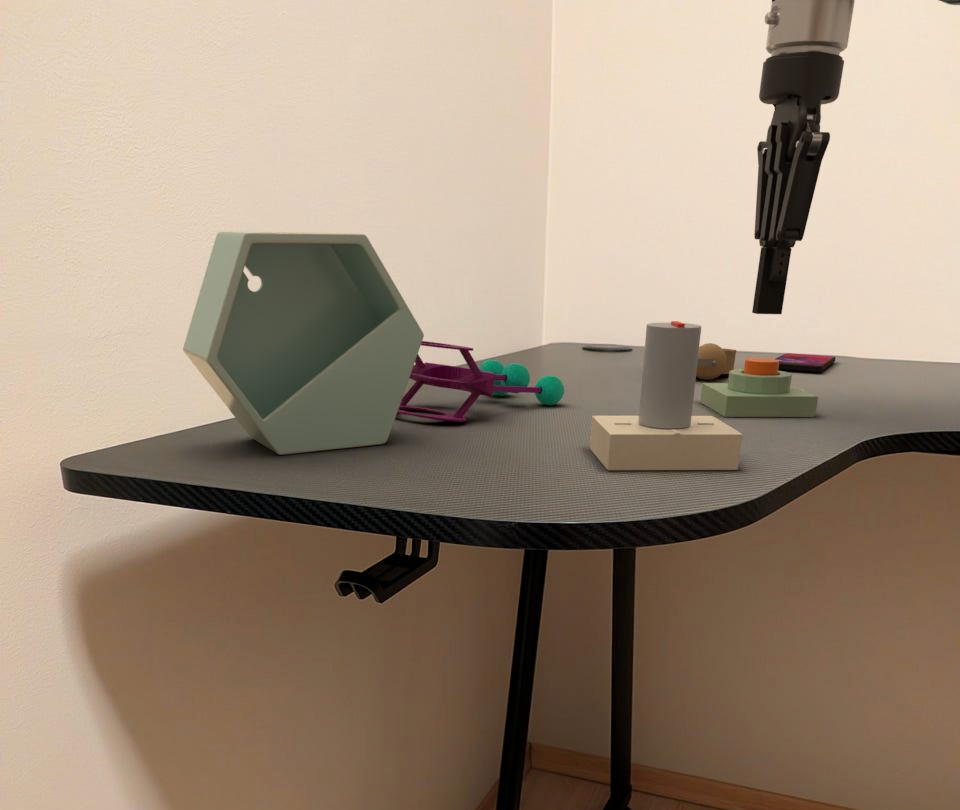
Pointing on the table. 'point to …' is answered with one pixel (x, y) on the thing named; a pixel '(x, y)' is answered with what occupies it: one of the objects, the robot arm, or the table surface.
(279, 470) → the table surface
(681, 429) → the dial panel
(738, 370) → the button block
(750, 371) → the button
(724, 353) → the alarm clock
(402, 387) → the planter
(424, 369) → the purple framed piece
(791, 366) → the smartphone
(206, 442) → the table surface
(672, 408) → the cylinder
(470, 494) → the table surface
